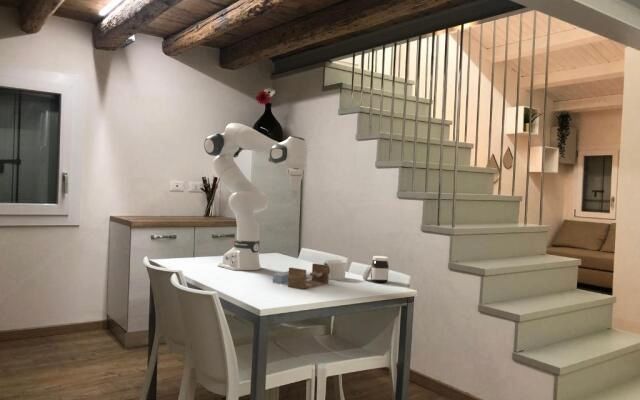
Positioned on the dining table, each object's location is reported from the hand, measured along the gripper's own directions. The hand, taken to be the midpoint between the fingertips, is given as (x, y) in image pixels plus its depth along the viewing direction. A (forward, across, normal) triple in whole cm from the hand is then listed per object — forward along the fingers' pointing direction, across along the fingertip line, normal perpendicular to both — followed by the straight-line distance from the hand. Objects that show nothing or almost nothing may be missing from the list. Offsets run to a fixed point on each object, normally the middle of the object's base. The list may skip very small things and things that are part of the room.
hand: (294, 201), depth 241 cm
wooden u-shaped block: (+36, +14, +7) cm, 39 cm away
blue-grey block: (+36, +7, -2) cm, 36 cm away
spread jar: (+36, -2, +39) cm, 53 cm away
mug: (+36, -7, +19) cm, 41 cm away
